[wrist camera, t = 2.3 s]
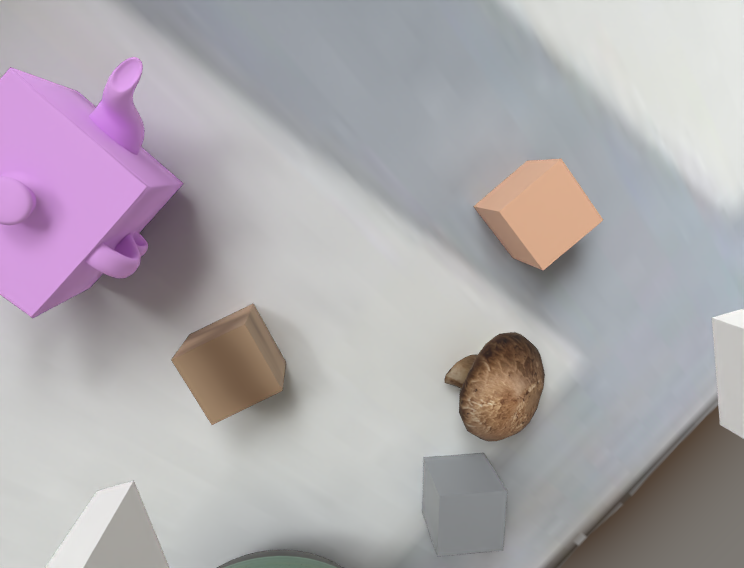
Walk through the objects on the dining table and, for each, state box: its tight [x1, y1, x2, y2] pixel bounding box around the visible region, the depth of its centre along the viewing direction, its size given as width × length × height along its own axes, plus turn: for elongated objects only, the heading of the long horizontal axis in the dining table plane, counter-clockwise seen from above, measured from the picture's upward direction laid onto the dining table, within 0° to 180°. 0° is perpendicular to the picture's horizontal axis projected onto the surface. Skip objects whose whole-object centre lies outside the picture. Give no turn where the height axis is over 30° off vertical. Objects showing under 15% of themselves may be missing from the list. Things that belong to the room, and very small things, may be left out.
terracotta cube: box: [474, 159, 603, 270], centre depth 34 cm, size 5×5×5 cm
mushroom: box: [445, 333, 545, 441], centre depth 36 cm, size 8×8×6 cm
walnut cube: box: [171, 304, 286, 425], centre depth 33 cm, size 5×5×5 cm
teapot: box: [0, 57, 183, 318], centre depth 27 cm, size 18×13×10 cm
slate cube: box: [422, 453, 507, 557], centre depth 38 cm, size 5×5×5 cm
